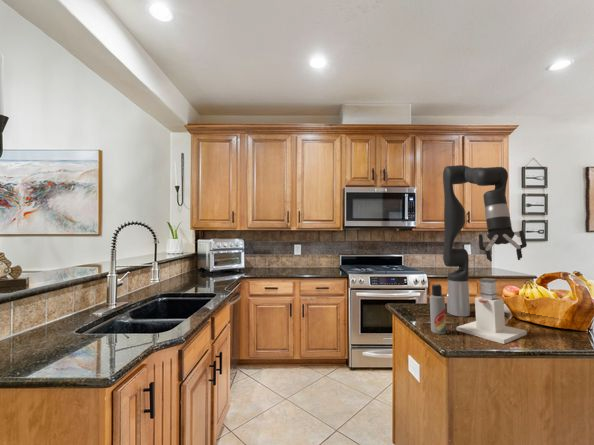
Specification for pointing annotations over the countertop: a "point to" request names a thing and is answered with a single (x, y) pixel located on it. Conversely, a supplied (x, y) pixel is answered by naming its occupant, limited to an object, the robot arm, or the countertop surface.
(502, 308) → the stand
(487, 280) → the post
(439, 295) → the lotion bottle
